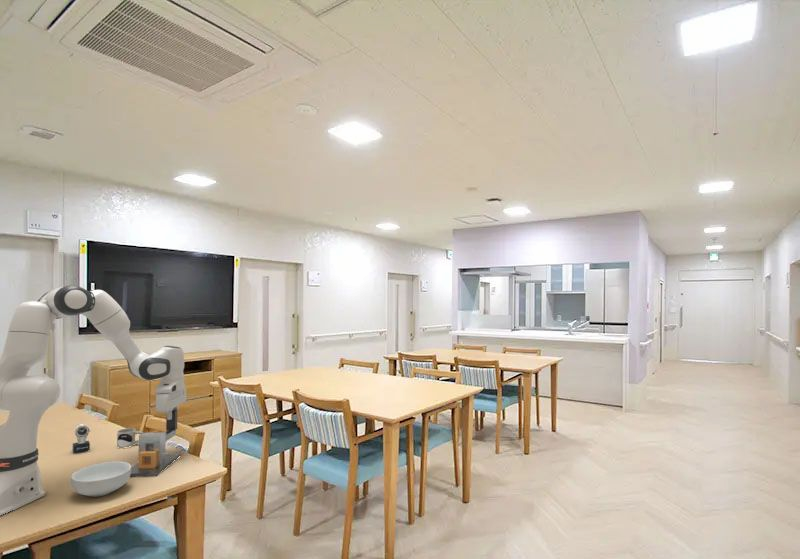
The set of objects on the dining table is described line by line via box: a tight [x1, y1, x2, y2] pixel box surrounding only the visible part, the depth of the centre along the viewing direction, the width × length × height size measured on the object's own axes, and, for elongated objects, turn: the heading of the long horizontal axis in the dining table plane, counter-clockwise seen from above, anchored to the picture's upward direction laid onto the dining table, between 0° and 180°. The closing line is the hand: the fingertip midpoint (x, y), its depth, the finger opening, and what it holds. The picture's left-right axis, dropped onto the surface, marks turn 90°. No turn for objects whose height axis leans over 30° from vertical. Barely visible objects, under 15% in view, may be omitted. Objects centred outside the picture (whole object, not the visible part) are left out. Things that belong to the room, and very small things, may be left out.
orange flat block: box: [138, 451, 157, 468], centre depth 170 cm, size 2×6×6 cm, turn 92°
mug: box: [116, 427, 144, 449], centre depth 198 cm, size 10×7×7 cm, turn 108°
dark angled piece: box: [150, 409, 179, 448], centre depth 182 cm, size 16×4×10 cm, turn 2°
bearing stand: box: [129, 431, 182, 478], centre depth 174 cm, size 20×12×12 cm, turn 2°
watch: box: [72, 423, 91, 454], centre depth 191 cm, size 6×8×11 cm
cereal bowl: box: [70, 460, 132, 498], centre depth 152 cm, size 17×17×7 cm
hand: (171, 418), depth 189 cm, fingers closed on dark angled piece, 2 cm apart
